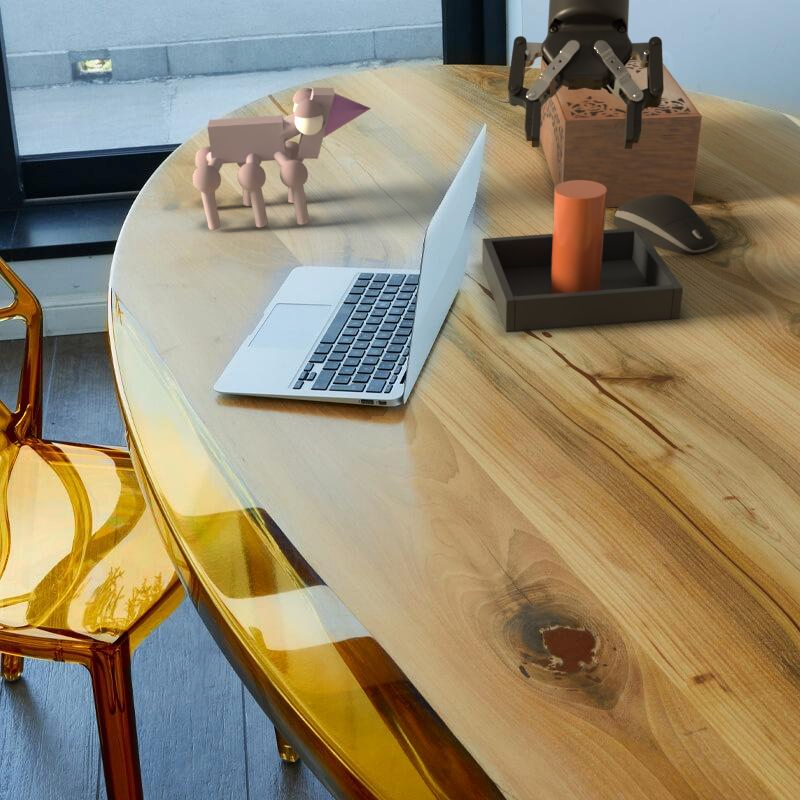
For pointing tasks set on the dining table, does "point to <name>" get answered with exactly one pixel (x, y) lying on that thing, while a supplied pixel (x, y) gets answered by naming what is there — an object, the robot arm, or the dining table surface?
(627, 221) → the computer mouse
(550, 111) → the tissue box cover
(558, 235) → the canister
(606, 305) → the tray
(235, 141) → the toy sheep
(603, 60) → the robot arm
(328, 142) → the dining table surface
